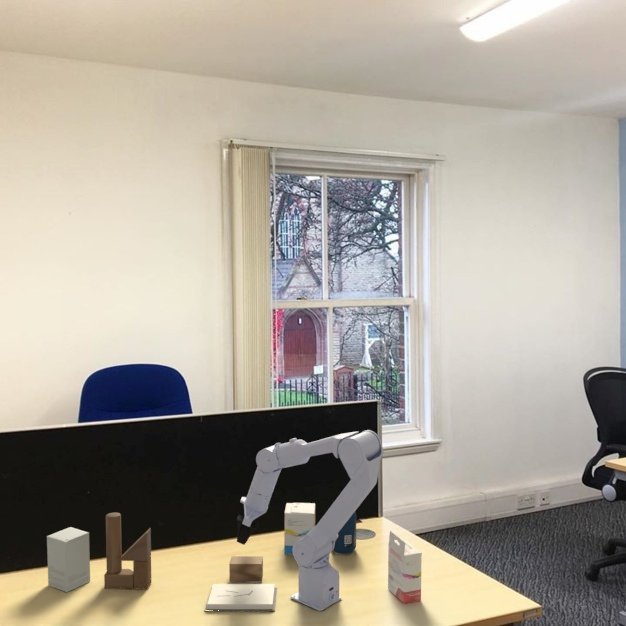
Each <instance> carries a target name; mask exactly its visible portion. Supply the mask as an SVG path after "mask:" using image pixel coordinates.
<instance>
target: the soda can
mask: <svg viewBox="0 0 626 626" xmlns="http://www.w3.org/2000/svg"><path fill="white" fill-rule="evenodd" d="M356 548H357V513H356V511H355V512H354V513H353V514H352V516H351V517H350V518H349V519H348V521H347V522H346V523H345V525H344V526H343V527H342V528H341V530H340V531H339V532H338V538H337V539H336V541H335V545H334V549H333V551H332V552H334V553H335V554H337V555H342V556H344V555H345V556H346V555H351V554H353V553H354V552H355V550H356Z"/></svg>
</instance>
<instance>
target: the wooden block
mask: <svg viewBox="0 0 626 626" xmlns="http://www.w3.org/2000/svg"><path fill="white" fill-rule="evenodd" d="M151 530H152V529H151V527H149V528H148V529H147V530H146V531H145V532H144V533H143V534H142V535H141V536H140V537H139V538H138V539H137V540H136V541H135V542H134V543H133V544H132V545H131V546H129V548H127V550H126V551H125V552H124V553H122V514H121V513H120V512H116V511H115V512H109V513H107V514H106V515H105V545H106V546H105V550H106V553H105V554H106V572H105V573H104V575H103V577H104V578H103V579H104V581H103V583H104V589H121V590H123V589H125V590H127V589H128V590H133V589H134V590H149V588H150V586H151V584H152V538H151V537H152V536H151V535H152V531H151ZM123 561H125V562H126V561H127V562H132V563H133V568H132V569H133V570H132V569H130V568H123V566H122V565H123V563H122V562H123Z"/></svg>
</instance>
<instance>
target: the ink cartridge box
mask: <svg viewBox="0 0 626 626" xmlns="http://www.w3.org/2000/svg"><path fill="white" fill-rule="evenodd" d="M388 537H389V539H388V562H387V563H388V565H387V567H388V568H387V570H388V571H387V589H388V590H389V591H390V592H391V593H392V594H393V595H394V596H395V597H396V598H397V599H398V600H400V602H401V603H402V604H411V603H414V602H421V601H422V554H423V553H422V552H421V551H420V550H419V549H418V548H417V547H414V545H412V544H411V543H410V542H409V541H408V540H406V539H401V538H400V537H399V536H398V535H397V534H395V533H394V532H392V530H390V531H389V536H388Z"/></svg>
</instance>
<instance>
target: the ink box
mask: <svg viewBox="0 0 626 626" xmlns="http://www.w3.org/2000/svg"><path fill="white" fill-rule="evenodd" d="M315 526H316V503H315V502H312V503H311V502H286V504H285V509H284V535H283V537H284V540H283V541H284V542H283V543H284V549H283V553H284V555H293V552H292V549H293V545H294V543H295V542H296V541H298V540H300V539H302V538H304V537H305V535H306V534H307V533H308V532H310V531H311V530H312V529H313V528H314V527H315Z"/></svg>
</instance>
